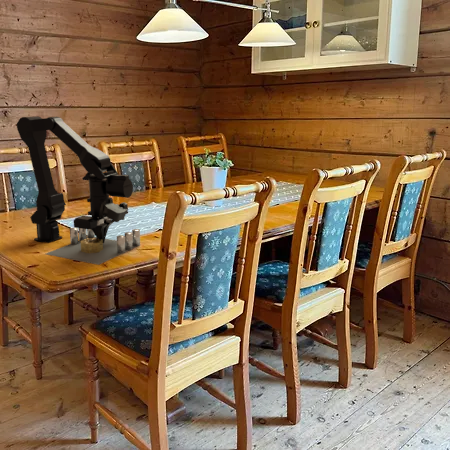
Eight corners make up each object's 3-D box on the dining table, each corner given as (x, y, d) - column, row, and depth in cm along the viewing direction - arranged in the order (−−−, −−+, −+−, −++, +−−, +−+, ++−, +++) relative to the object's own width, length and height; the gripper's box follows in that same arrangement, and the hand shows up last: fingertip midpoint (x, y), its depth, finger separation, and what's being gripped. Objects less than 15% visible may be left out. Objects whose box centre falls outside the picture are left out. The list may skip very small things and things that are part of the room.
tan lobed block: (77, 252, 149) (77, 242, 148) (87, 246, 155) (87, 236, 154) (96, 254, 147) (96, 244, 147) (106, 247, 154) (105, 238, 153)
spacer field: (69, 244, 156) (68, 229, 155) (90, 235, 165) (89, 221, 164) (122, 253, 148) (121, 238, 147) (141, 244, 157) (141, 229, 156)
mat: (44, 254, 147) (44, 253, 147) (90, 236, 165) (90, 236, 165) (98, 265, 139) (98, 264, 139) (140, 245, 157) (140, 244, 157)
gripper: (101, 203, 139) (104, 255, 144) (138, 192, 156) (140, 239, 160) (70, 199, 144) (74, 250, 148) (109, 188, 160) (111, 234, 164)
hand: (101, 243), depth 155 cm, fingers closed
